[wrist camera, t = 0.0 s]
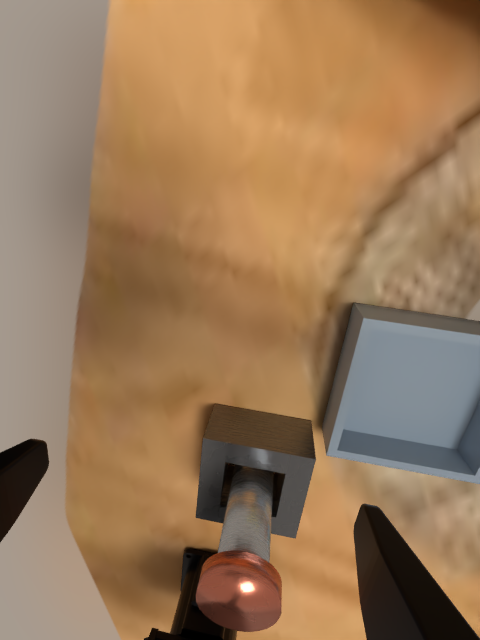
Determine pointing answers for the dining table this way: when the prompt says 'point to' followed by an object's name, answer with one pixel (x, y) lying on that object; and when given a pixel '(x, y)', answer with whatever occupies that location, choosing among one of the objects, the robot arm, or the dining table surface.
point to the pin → (243, 559)
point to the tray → (407, 393)
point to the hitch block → (256, 462)
